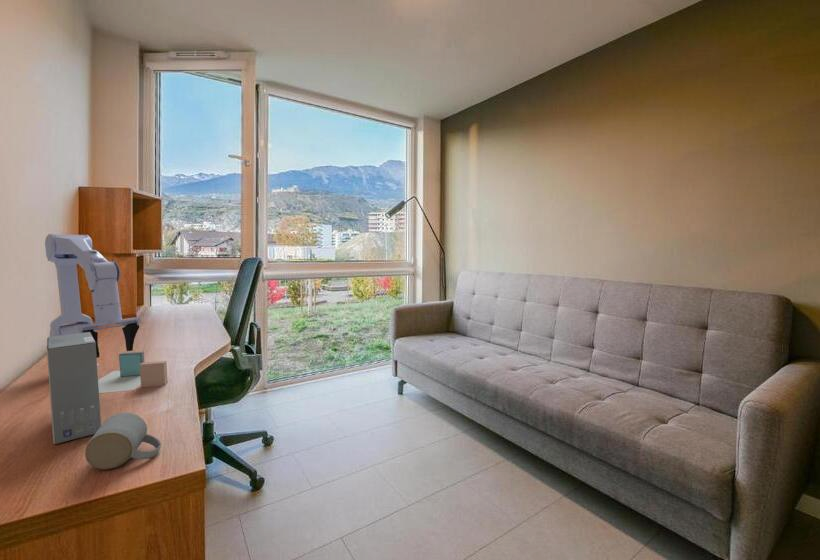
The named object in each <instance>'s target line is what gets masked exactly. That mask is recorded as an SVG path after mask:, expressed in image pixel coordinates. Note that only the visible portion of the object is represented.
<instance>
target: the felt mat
mask: <svg viewBox="0 0 820 560" xmlns="http://www.w3.org/2000/svg"><path fill="white" fill-rule="evenodd" d="M98 387H99V394H104V393H106V394H107V393H118V392H128V391H129V392H130V391H135V390H136V389H137V388H138V387H141V379H140V375H137V376H124V377H120V370H112V371H111V372H109V373H107V374H106V375H104V376H102V377H101V378H98Z"/></svg>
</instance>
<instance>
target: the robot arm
mask: <svg viewBox="0 0 820 560" xmlns="http://www.w3.org/2000/svg"><path fill="white" fill-rule="evenodd" d="M44 246H45V247H44V248H45V257H46V258H47V261H48V262H51V263H54V265H55V268H56V275H57V276H56V277H57V284H58V285H57V286H58V294H59V303H60V313H61V314H60V315H59V316H57V317H55V319H53V320H52V321H51V322H50V325H49V327H50V328H49V337H50V336H59V335H67V334H76V333H85V332H90V333H91V335H92V337H93V339H94V340H95V342H96V357H97V358H100V350H99V349H100V348H99V343H98V336H99V334H98V332H97V331H98V330H99V331H100V330H107V329H112V328H120V327H122V328H121V330H122V332H123V336H124V340H125V350H126V352H133V350H134V344H135V339H136V335H137V333H138V330H139V329H140V324H142V317H141V316H137V317H129V318H123V316H122V315H123V314H122V309H121V308H122V307H121V306H122V305H121V300H120V293H119V286H118V285H119V284H118V282H119V281H120V279H121V269H120V268H121V267H120V266H119V264H118V263H117V261H114V260H113V261H112V260H111V261H108V260H107V259H106V258H105V257H104V255H102V254H101V253H100V252H99V251H98V250H96V249H93V240H92V238H91V237H90V236H89V235H88V234H53V233H48V234H47V235H46V236H45V241H44ZM77 265H79V266H80V268H81V269H82V270H83V271H84V277H85V280H86V282H87V286H88V289H89V291H91V297H92V299H91V300H92V304H93V313H94V321H95V322H93V319H92V318H91V316H88V315H87V314H84V313H82V307H81V297H80V286H79V278H78V277H79V276H78V268H77ZM113 324H116V325H113ZM106 325H107V326H106ZM108 325H109V326H108ZM99 366H100V363H97V367H99Z"/></svg>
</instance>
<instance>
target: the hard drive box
mask: <svg viewBox="0 0 820 560" xmlns="http://www.w3.org/2000/svg"><path fill="white" fill-rule="evenodd" d="M46 357H47V358H46V359H47V370H48V371H47V373H48V384H49V386H48V387H49V401H50V402H49V404H50V413H51V414H50V416H51V417H50V418H51V426H52V427H51V430H52V441H53V444H54V445H57V444H61V443H64V442H69V441H72V440H75V439H76V440H77V439H80V438H85V437H88V436H92V435H95V433H96V432H97V431H98V429H99V428H100V427H101V425H102V416H101V415H102V414H101V403H100V401H101V399H100V393H99V387H98V380H99V377H98V376H99V374H98V366H97V364H98V360H97V357H96V342H95V340H94V339H93V337H92V335H91V333H90V332H85V333H76V334H67V335H59V336H50V335H49V336H48V337H47V340H46Z"/></svg>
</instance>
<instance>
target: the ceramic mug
mask: <svg viewBox="0 0 820 560" xmlns="http://www.w3.org/2000/svg"><path fill="white" fill-rule="evenodd" d="M142 443H147V444H149V445H151V446H153V447H154V448H155V449H153V450H150V451H149V450H148V451H147V450H138V448H139V447H140V445H141V444H142ZM161 447H162V442H161V440H159V439H158V438H157V437H155V436H153V435H152V434H151V435H150V434H148V426H147V423H146V421H145V420H144V418H142V417H141V416H139V415H138V414H135V413H133V412H119V413H115V414H113V415H111V416H110V417H107V418H106V420H104V422H103V423H101V427H100V428H99V429H98V431H97V432H96V433H95V434H93V436H92V437H91V438H90V439H89V441H88V443H87V445H86V448H85V451H84V454H85V455H84V456H85V459H86V462H87V463H88V464H89V466H92V468H93V467H94V468H95V469H100V470H111V469H116V468H118V467H120V466H122V465H123V464H125V463H126V462H127V461H128V460H129V459H131V458H132V459H136V460H148V459H151V458H153V457H155V456H157V455H158V453H159V451H160V449H161Z"/></svg>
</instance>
